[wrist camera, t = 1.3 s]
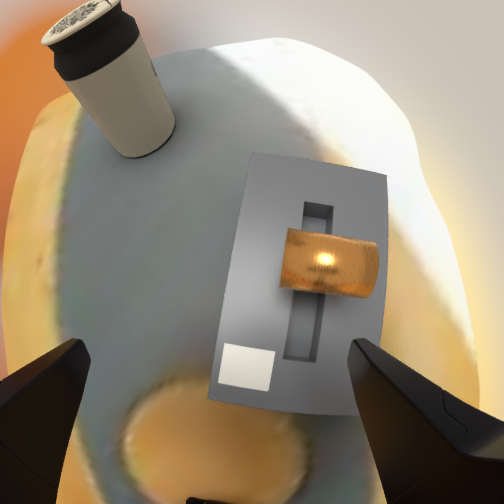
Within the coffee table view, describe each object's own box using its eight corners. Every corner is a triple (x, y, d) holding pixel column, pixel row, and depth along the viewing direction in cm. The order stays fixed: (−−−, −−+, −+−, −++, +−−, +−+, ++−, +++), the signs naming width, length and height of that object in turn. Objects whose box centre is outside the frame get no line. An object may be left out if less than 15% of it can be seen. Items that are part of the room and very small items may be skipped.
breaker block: (350, 402, 21) (366, 416, 16) (216, 386, 22) (206, 399, 18) (371, 194, 25) (387, 174, 21) (253, 175, 26) (251, 150, 22)
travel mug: (120, 170, 28) (29, 58, 10) (112, 126, 29) (46, 26, 12) (183, 139, 28) (126, 1, 11) (167, 99, 30) (122, -16, 12)
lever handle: (331, 307, 22) (376, 295, 12) (274, 299, 22) (280, 282, 13) (336, 269, 22) (380, 233, 13) (280, 260, 23) (289, 218, 13)
